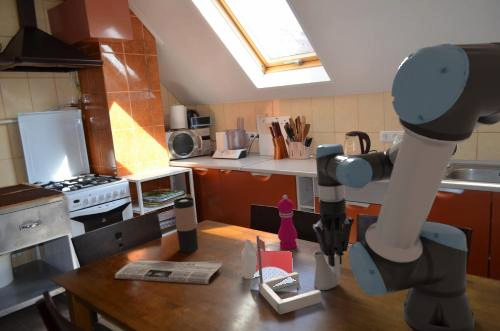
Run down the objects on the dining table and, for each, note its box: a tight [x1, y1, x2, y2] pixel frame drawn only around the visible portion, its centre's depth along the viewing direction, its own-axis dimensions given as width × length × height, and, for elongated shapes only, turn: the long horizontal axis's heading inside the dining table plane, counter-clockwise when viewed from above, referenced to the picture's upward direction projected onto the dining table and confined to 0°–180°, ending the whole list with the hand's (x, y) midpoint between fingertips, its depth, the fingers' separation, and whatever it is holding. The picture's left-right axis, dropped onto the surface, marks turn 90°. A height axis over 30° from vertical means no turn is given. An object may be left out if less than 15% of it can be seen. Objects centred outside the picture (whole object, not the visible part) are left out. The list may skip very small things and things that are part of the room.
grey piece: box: [240, 239, 258, 280], centre depth 119 cm, size 6×12×6 cm
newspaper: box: [114, 259, 224, 285], centre depth 127 cm, size 35×12×4 cm, turn 74°
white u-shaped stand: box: [256, 235, 323, 315], centre depth 104 cm, size 14×12×17 cm
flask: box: [312, 249, 339, 291], centre depth 108 cm, size 7×7×10 cm
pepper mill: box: [277, 194, 298, 251], centre depth 140 cm, size 7×7×20 cm
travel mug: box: [173, 196, 199, 253], centre depth 146 cm, size 8×8×20 cm
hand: (335, 275), depth 111 cm, fingers closed
